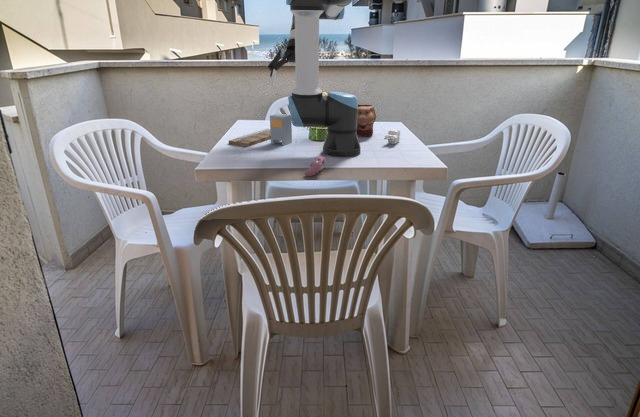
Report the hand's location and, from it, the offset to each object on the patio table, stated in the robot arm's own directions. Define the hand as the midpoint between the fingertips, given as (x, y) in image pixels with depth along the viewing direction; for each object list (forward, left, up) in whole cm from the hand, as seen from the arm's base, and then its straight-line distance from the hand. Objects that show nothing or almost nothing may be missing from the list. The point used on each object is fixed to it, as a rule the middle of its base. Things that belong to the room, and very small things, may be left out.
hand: (286, 85), depth 181 cm
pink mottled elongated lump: (-54, -3, -24) cm, 59 cm away
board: (-2, +15, -23) cm, 28 cm away
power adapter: (-20, -43, -23) cm, 53 cm away
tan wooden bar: (-2, +15, -22) cm, 26 cm away
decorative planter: (+1, -36, -23) cm, 43 cm away
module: (-10, +4, -23) cm, 25 cm away
